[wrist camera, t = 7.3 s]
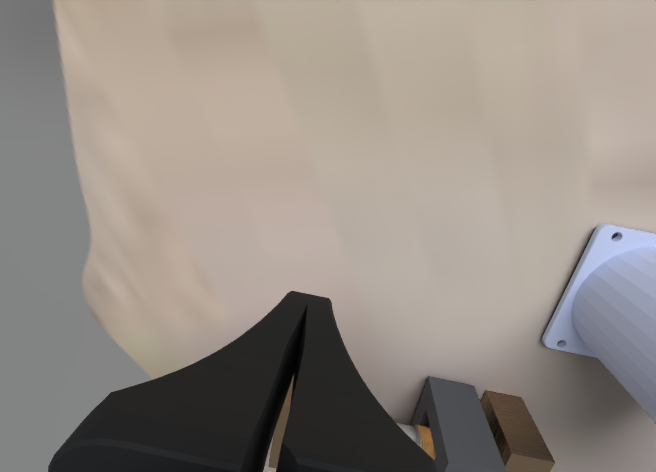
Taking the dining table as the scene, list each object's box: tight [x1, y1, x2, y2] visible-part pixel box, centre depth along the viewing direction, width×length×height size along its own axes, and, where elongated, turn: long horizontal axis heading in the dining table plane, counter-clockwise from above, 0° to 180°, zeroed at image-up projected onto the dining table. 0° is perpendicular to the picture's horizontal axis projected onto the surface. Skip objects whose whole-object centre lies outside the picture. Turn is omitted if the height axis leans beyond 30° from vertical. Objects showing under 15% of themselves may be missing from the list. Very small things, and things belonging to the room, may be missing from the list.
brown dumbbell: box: [268, 375, 555, 472], centre depth 23 cm, size 15×5×5 cm, turn 80°
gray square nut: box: [411, 377, 507, 472], centre depth 22 cm, size 3×6×6 cm, turn 170°
